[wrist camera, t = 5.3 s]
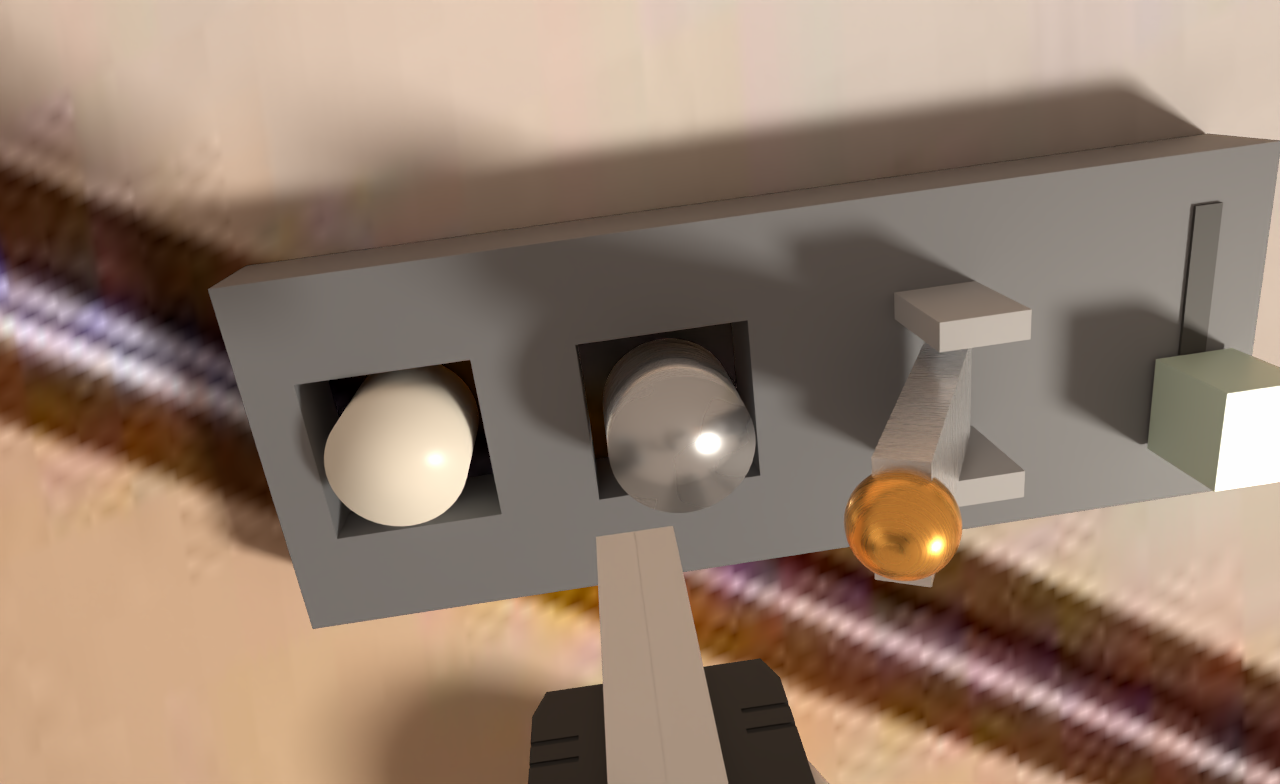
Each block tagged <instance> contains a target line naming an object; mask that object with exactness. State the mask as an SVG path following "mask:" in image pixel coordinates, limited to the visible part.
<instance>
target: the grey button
mask: <svg viewBox="0 0 1280 784" xmlns="http://www.w3.org/2000/svg"><path fill="white" fill-rule="evenodd" d="M602 404H603V415H604V423H605V431H606V439H607V447H608V455H609V461H610V465H611V468H612V471H613V474H614V476H615V478H616V479H617V481H618V483H619V484H620V485H621V487H622V488H623V489H624V490H625V491H626V492H627V493H628V494H629V495H630V496H631V497H632V498H633V499H635V500H636V501H638V502H639V503H641V504H643V505H645V506H647V507H649V508H652V509H655V510H658V511H662V512H669V513H686V512H693V511H698V510H701V509H704V508H707V507H710V506H712V505H714V504H716V503H718V502H719V501H721V500H723V499H724V498H726V497H727V496H728V495H729V494H731V493H732V492H733V491H734V490H735V489H736V488H737V487H738V486H739V484H740V483H741V482H742V481H743V479H744V478H745V476H746V474H747V473H748V471H749V469H750V466H751V464H752V461H753V457H754V453H755V445H756V439H755V430H754V425H753V422H752V419H751V417H750V415H749V413H748V411H747V409H746V407H745V405H744V403H743V401H742V400H741V398H740V396H739V394H738V392H737V391H736V389H735V387H734V385H733V383H732V381H731V380H730V378H729V376H728V374H727V372H726V371H725V369H724V367H723V366H722V364H721V363H720V361H719V360H718V359H717V358H716V357H715V356H714V355H713V354H712V353H711V352H709V351H708V350H707V349H705V348H704V347H702V346H700V345H698V344H696V343H693V342H690V341H687V340H682V339H674V338H666V339H657V340H653V341H649V342H646V343H643V344H641V345H639V346H637V347H635V348H634V349H632V350H631V351H629V352H628V353H627V354H625V355H624V356H623V357H622V358H621V359H620V360H619V361H618V362H617V363H616V365H615V366H614V367H613V369H612V370H611V372H610V374H609V376H608V378H607V380H606V383H605V386H604V391H603V400H602Z"/></svg>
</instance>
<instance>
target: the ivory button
mask: <svg viewBox="0 0 1280 784" xmlns="http://www.w3.org/2000/svg"><path fill="white" fill-rule="evenodd" d="M478 426H479V414H478V408H477V404H476V401H475V399H474V396H473V394H472V392H471V391H470V389H469V387H468V386H467V385H466V384H465V382H464V381H463V380H462V379H461V378H460V377H459V376H458V375H456V374H455V373H454V372H452V371H451V370H449V369H448V368H446V367H444V366H442V365H439V364H438V365H431V366H424V367H417V368H410V369H403V370H396V371H389V372H382V373H375V374H370V375H369V376H368V377H367V378H366V379H365V380H364V381H363V382H362V384H361V385H360V387H359V388H358V390H357V391H356V393H355V395H354V396H353V398H352V399H351V401H350V402H349V404H348V405H347V407H346V409H345V410H344V412H343V413H342V415H341V416H340V418H339V420H338V421H337V423H336V424H335V426H334V427H333V429H332V431H331V432H330V434H329V437H328V439H327V442H326V446H325V451H324V467H325V472H326V476H327V478H328V481H329V484H330V486H331V487H332V489H333V491H334V492H335V494H336V495H337V497H338V498H339V499H340V500H341V501H342V502H343V503H344V504H345V505H346V506H347V507H348V508H349V509H350V510H352V511H353V512H355V513H356V514H358V515H359V516H361V517H363V518H365V519H367V520H370V521H373V522H375V523H379V524H383V525H389V526H412V525H416V524H421V523H424V522H427V521H430V520H432V519H434V518H436V517H438V516H439V515H441V514H442V513H444V512H445V511H446V510H447V509H449V508H450V507H451V506H452V505H453V504H454V502H455V501H456V500H457V498H458V497H459V495H460V494H461V492H462V490H463V488H464V485H465V482H466V479H467V475H468V470H469V466H470V462H471V458H472V453H473V449H474V445H475V440H476V436H477V432H478Z"/></svg>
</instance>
